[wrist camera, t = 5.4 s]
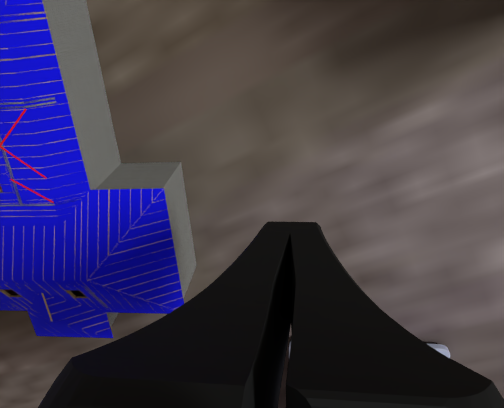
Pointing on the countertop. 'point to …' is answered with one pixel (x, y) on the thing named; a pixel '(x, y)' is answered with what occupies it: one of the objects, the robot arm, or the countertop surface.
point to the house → (78, 187)
